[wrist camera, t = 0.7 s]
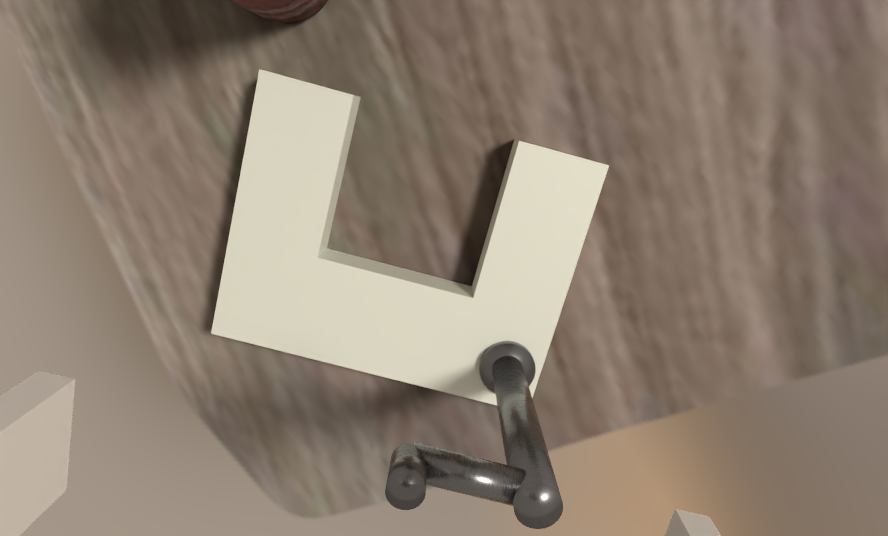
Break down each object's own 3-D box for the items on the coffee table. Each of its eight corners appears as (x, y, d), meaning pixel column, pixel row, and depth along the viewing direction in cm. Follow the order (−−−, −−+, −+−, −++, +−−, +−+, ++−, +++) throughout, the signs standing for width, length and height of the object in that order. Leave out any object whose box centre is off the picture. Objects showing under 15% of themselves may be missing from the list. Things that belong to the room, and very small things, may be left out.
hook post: (418, 317, 34) (396, 447, 20) (541, 348, 34) (600, 497, 21) (405, 367, 35) (375, 526, 21) (525, 397, 35) (571, 572, 22)
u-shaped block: (273, 73, 33) (259, 69, 31) (597, 162, 34) (609, 165, 32) (226, 319, 37) (211, 333, 34) (522, 394, 38) (527, 413, 35)
